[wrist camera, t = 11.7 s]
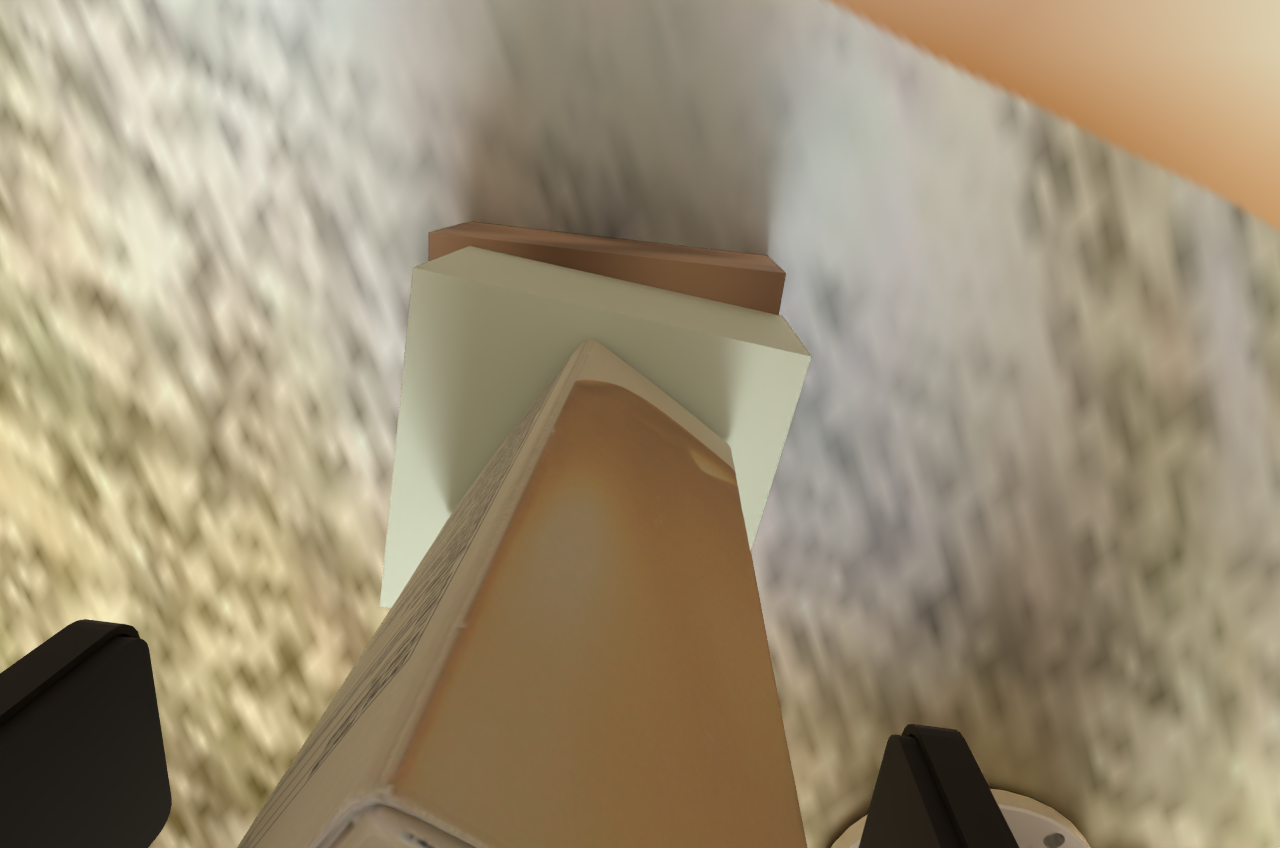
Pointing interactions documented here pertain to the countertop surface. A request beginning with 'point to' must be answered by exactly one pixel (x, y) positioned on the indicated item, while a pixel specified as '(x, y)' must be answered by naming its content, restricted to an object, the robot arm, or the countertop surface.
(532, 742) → the skincare box
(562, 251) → the tower bottom
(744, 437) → the tower top
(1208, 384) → the countertop surface
